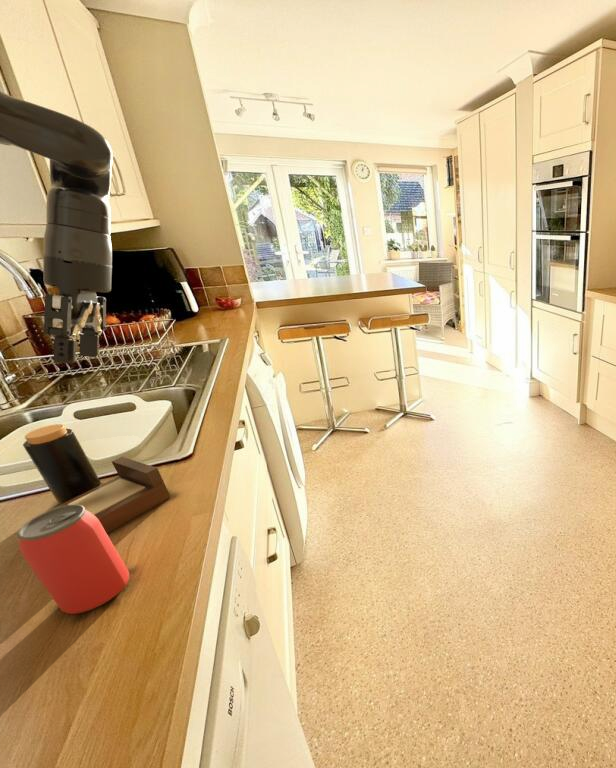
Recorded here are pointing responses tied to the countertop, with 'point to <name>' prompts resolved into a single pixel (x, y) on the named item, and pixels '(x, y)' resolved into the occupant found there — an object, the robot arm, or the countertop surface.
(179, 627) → the countertop surface
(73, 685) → the countertop surface
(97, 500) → the brown wooden stand
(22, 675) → the countertop surface
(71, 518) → the beer can
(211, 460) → the countertop surface
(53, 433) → the black canister
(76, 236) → the robot arm
